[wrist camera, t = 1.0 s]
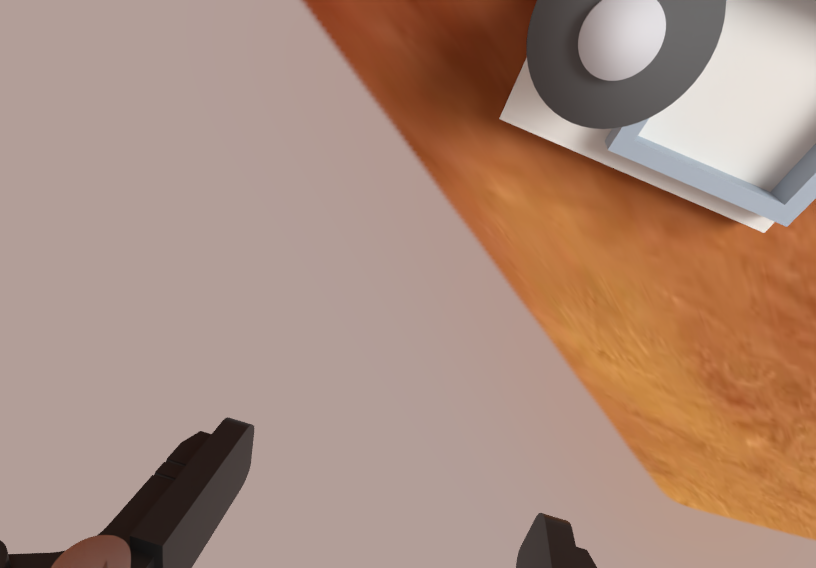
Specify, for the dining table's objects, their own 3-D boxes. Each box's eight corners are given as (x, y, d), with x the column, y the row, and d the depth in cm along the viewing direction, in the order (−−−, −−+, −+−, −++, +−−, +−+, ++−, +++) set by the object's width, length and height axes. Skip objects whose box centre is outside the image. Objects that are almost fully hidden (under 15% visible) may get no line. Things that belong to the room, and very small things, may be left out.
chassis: (616, -142, 22) (631, -179, 17) (962, -4, 21) (1071, -5, 17) (502, 112, 29) (492, 132, 25) (752, 219, 29) (788, 260, 24)
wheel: (578, -88, 19) (586, -116, 15) (727, -28, 19) (783, -36, 14) (508, 74, 23) (496, 93, 19) (629, 126, 23) (648, 158, 18)
